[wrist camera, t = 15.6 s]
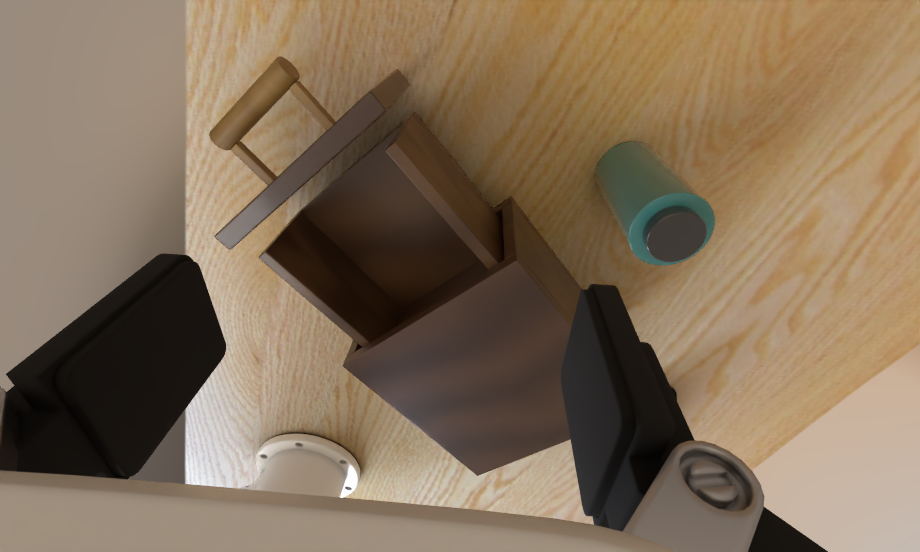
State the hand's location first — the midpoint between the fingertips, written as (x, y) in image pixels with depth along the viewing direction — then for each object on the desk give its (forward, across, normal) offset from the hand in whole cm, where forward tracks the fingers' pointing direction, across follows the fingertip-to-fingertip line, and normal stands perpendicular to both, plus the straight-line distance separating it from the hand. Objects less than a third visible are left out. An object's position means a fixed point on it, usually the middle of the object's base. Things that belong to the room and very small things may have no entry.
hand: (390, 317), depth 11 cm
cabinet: (+22, -4, +17) cm, 28 cm away
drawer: (+21, +5, +6) cm, 23 cm away
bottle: (+22, -12, +3) cm, 26 cm away
